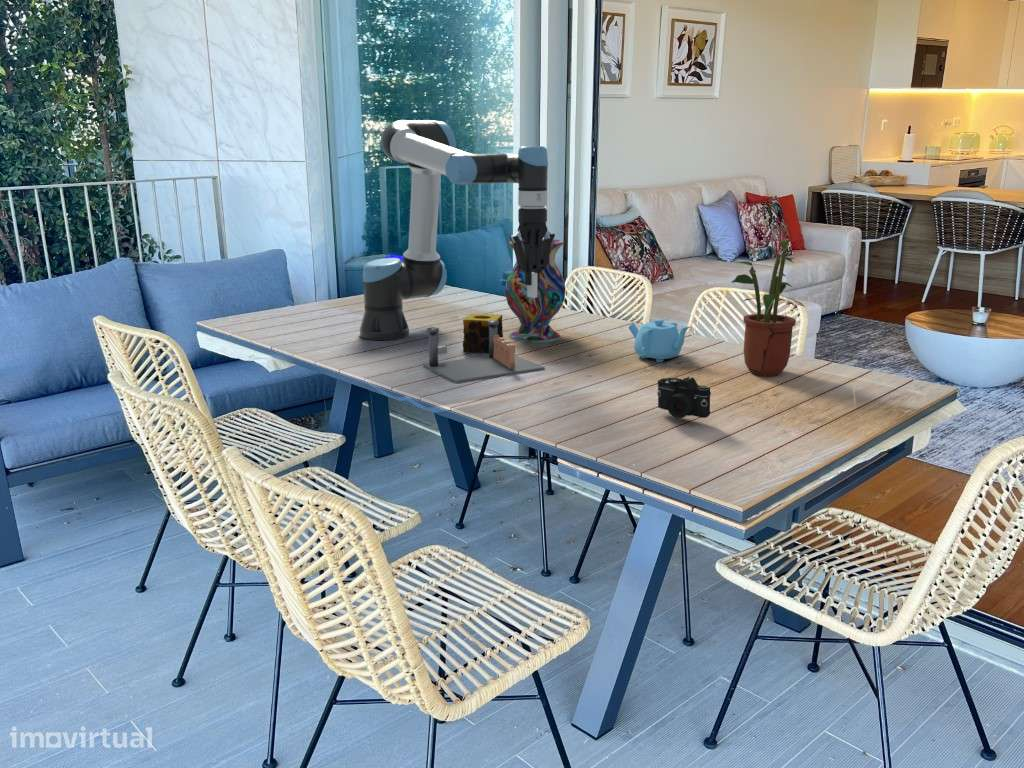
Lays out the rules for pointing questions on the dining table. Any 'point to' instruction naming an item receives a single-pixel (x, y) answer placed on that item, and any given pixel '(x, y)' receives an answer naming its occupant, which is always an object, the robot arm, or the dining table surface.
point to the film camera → (684, 397)
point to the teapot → (658, 340)
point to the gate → (504, 352)
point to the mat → (480, 368)
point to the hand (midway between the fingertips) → (532, 296)
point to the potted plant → (767, 324)
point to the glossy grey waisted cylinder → (492, 335)
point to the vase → (536, 300)
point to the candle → (479, 332)
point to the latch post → (434, 347)
